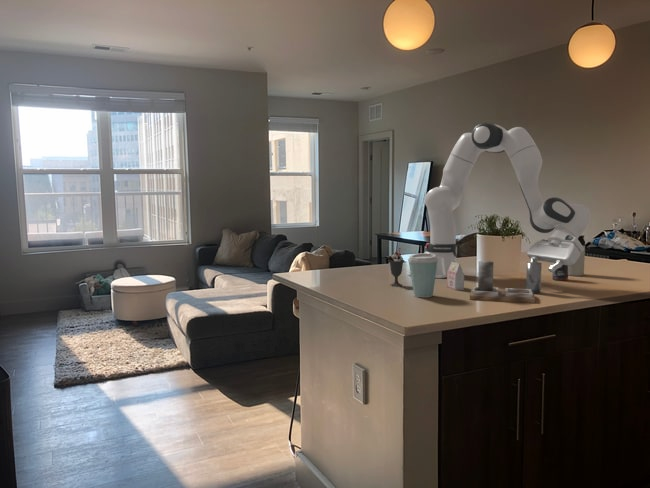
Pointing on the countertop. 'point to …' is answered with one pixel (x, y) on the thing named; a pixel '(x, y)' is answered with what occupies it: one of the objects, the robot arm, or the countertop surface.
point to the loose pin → (534, 277)
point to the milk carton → (455, 277)
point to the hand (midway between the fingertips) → (540, 269)
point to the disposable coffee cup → (423, 273)
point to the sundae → (396, 266)
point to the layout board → (493, 294)
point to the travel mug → (578, 261)
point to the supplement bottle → (560, 273)
